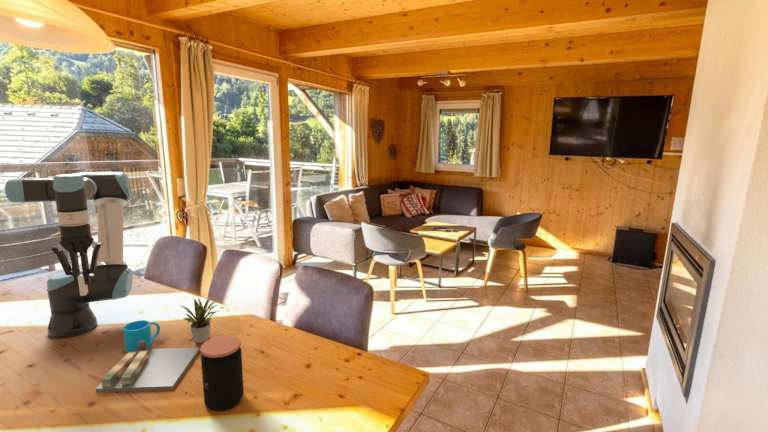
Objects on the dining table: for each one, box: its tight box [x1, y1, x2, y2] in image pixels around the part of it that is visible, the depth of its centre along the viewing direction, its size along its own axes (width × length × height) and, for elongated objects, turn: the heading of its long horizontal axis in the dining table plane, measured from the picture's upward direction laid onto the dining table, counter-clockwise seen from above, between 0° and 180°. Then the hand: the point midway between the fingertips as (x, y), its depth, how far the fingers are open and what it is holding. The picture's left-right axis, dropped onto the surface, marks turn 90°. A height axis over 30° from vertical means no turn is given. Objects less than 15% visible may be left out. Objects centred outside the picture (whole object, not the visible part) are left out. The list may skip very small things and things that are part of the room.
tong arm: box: [121, 350, 149, 385], centre depth 123 cm, size 15×2×2 cm, turn 13°
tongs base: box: [100, 340, 150, 387], centre depth 125 cm, size 20×5×4 cm, turn 5°
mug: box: [122, 319, 161, 352], centre depth 141 cm, size 12×8×8 cm
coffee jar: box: [199, 334, 244, 412], centre depth 111 cm, size 11×11×18 cm
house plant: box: [180, 296, 220, 344], centre depth 144 cm, size 14×14×16 cm
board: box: [95, 347, 201, 393], centre depth 126 cm, size 22×22×1 cm
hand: (84, 293), depth 125 cm, fingers closed
